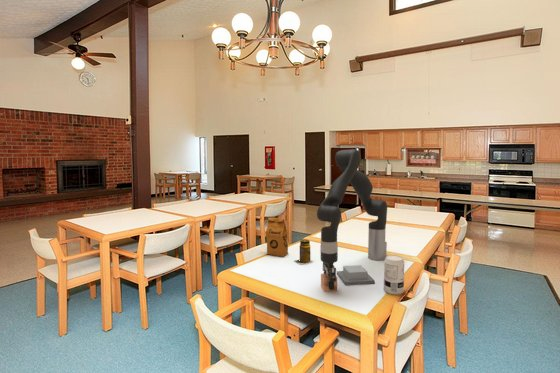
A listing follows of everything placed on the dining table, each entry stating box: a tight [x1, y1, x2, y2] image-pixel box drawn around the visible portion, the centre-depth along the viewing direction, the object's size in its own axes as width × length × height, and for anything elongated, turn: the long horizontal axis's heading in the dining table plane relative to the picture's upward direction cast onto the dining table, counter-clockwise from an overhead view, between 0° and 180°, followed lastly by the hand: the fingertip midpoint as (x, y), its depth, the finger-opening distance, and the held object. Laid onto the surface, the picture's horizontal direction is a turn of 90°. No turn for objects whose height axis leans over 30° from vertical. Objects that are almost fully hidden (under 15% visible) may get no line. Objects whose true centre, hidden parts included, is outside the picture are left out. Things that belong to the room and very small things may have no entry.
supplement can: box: [383, 254, 405, 296], centre depth 146 cm, size 8×8×15 cm
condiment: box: [294, 238, 314, 266], centre depth 186 cm, size 7×8×12 cm
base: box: [336, 264, 376, 286], centre depth 161 cm, size 14×14×5 cm
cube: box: [320, 272, 338, 292], centre depth 151 cm, size 6×6×6 cm
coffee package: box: [265, 217, 289, 258], centre depth 199 cm, size 10×12×22 cm
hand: (329, 285), depth 151 cm, fingers open, 8 cm apart
